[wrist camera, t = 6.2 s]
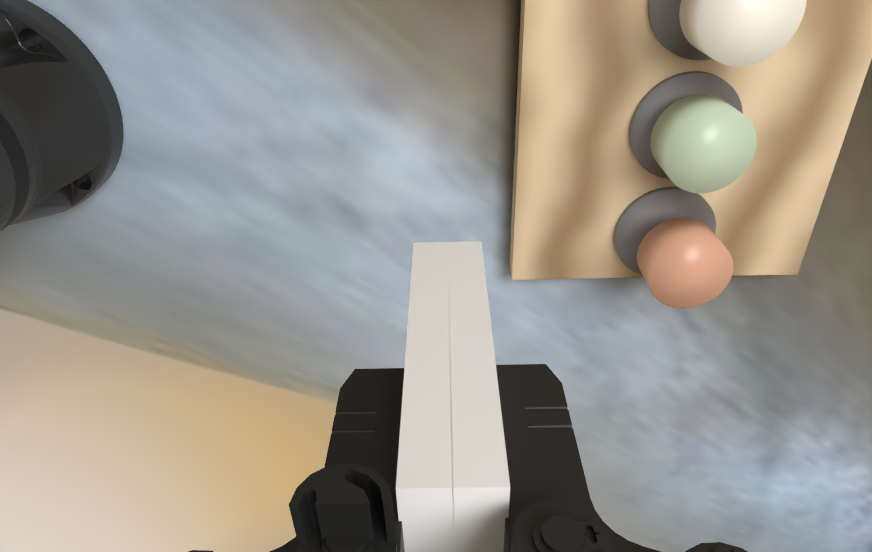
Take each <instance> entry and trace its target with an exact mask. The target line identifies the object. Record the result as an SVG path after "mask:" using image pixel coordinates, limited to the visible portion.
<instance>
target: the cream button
mask: <svg viewBox="0 0 872 552" xmlns="http://www.w3.org/2000/svg"><path fill="white" fill-rule="evenodd" d="M806 2H807V0H681V4H680V11H679V19H680V25H681V29H682V32H683V34H684V36H685V38H686V39H687V41H688V42H689V43H690V44H691V45H692V46H694V47H695V48H696V49H698V50H699V51H701V52H703V53H704V54H706V55H707V56H709V57H711V58H712V59H714V60H715V61H717V62H719V63H721V64H724V65H727V66H732V67H745V66H750V65H754V64H757V63H760V62H762V61H764V60H766V59H768V58H770V57H771V56H773V55H774V54H776V53H777V52H778V51H779V50H781V49H782V48H783V47H784V46H785V45H786V44H787V43H788V41H789V40H790V39H791V38H792V36H793V35H794V34H795V32H796V30H797V29H798V27H799V25H800V23H801V21H802V18H803V15H804V12H805V8H806Z"/></svg>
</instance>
